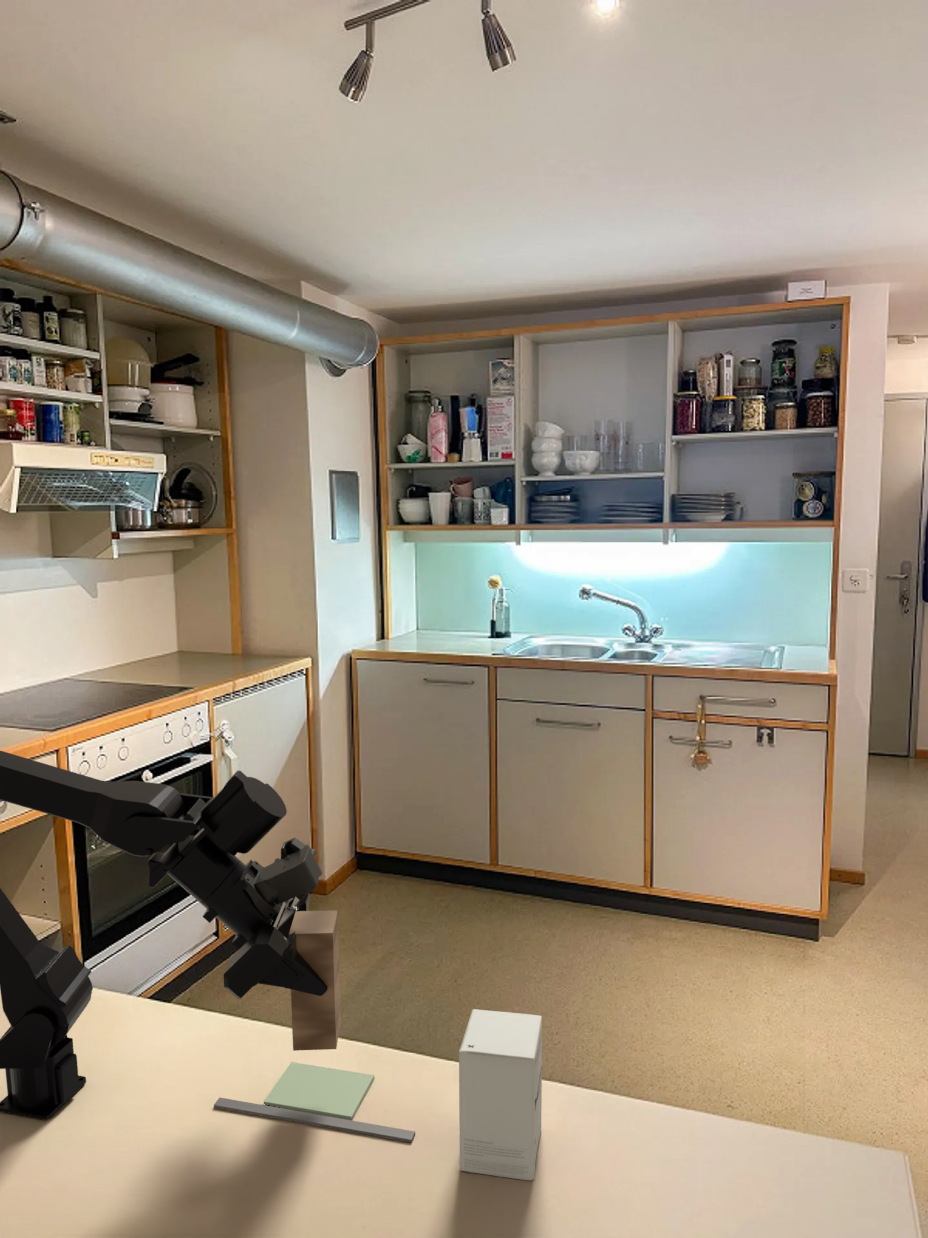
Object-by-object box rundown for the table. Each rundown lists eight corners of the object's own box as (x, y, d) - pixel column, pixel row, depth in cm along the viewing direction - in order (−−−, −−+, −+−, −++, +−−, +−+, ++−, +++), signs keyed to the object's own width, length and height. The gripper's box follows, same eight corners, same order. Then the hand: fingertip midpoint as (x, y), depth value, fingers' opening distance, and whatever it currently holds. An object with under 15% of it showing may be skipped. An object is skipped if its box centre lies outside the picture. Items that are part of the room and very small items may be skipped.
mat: (263, 1105, 94) (263, 1101, 94) (291, 1065, 101) (291, 1062, 101) (351, 1120, 92) (351, 1116, 92) (374, 1078, 99) (374, 1075, 98)
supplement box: (534, 1183, 83) (534, 1060, 82) (457, 1172, 85) (456, 1051, 83) (543, 1128, 91) (543, 1014, 89) (472, 1119, 92) (471, 1006, 90)
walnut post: (293, 1050, 93) (288, 934, 91) (299, 1022, 98) (295, 911, 96) (336, 1049, 93) (332, 933, 91) (340, 1021, 98) (337, 910, 96)
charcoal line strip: (213, 1107, 94) (213, 1105, 94) (219, 1100, 95) (219, 1097, 95) (411, 1142, 89) (411, 1140, 89) (415, 1134, 90) (415, 1131, 90)
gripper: (252, 866, 83) (372, 975, 85) (289, 798, 101) (387, 888, 103) (172, 946, 84) (292, 1052, 86) (223, 864, 102) (321, 952, 104)
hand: (328, 978), depth 95 cm, fingers closed on walnut post, 5 cm apart
